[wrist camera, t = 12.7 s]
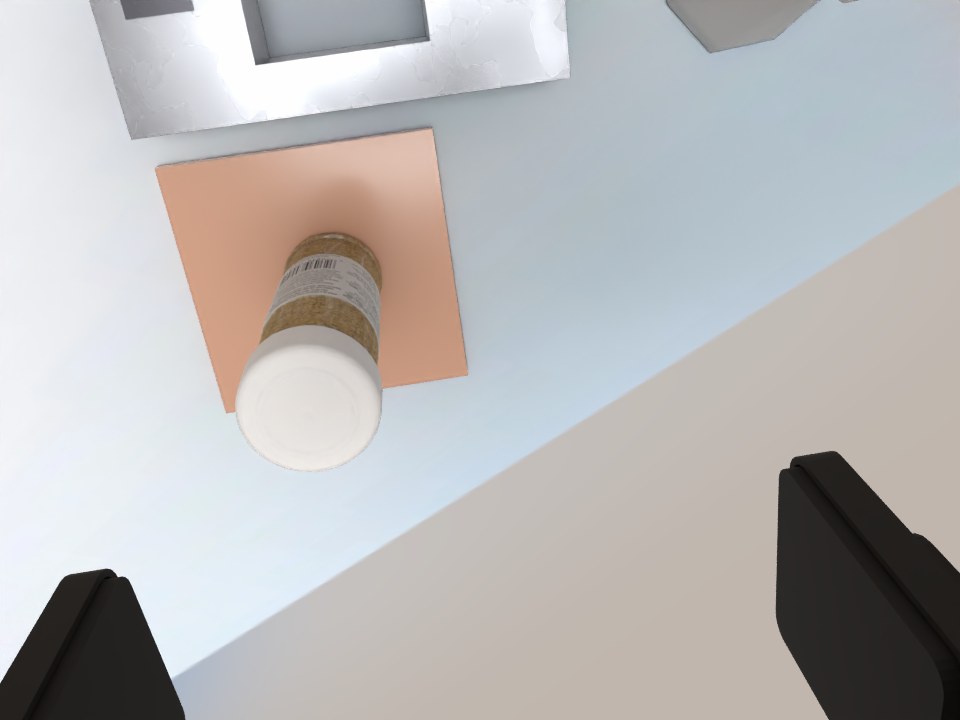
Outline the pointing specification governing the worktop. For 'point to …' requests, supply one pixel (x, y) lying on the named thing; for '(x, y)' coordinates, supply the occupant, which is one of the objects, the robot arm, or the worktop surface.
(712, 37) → the flask
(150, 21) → the socket bar
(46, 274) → the worktop surface
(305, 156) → the coaster
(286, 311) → the sprinkles bottle
